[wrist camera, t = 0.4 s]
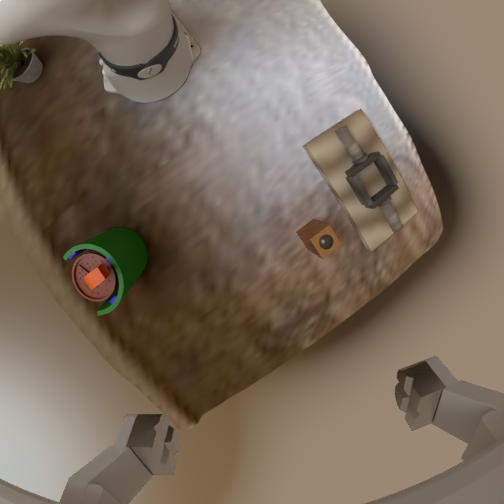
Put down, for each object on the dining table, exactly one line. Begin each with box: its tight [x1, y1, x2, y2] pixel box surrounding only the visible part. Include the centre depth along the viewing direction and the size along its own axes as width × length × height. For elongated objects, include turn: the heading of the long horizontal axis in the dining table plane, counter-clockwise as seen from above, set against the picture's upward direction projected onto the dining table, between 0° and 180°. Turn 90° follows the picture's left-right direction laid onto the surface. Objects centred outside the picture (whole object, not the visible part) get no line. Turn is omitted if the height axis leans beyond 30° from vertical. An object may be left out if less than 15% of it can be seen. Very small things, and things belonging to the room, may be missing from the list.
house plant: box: [0, 40, 43, 90], centre depth 32 cm, size 14×14×16 cm
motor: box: [63, 227, 148, 315], centre depth 42 cm, size 10×9×20 cm
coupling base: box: [302, 109, 418, 252], centre depth 52 cm, size 24×14×5 cm, turn 36°
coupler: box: [296, 219, 341, 259], centre depth 51 cm, size 4×4×8 cm
